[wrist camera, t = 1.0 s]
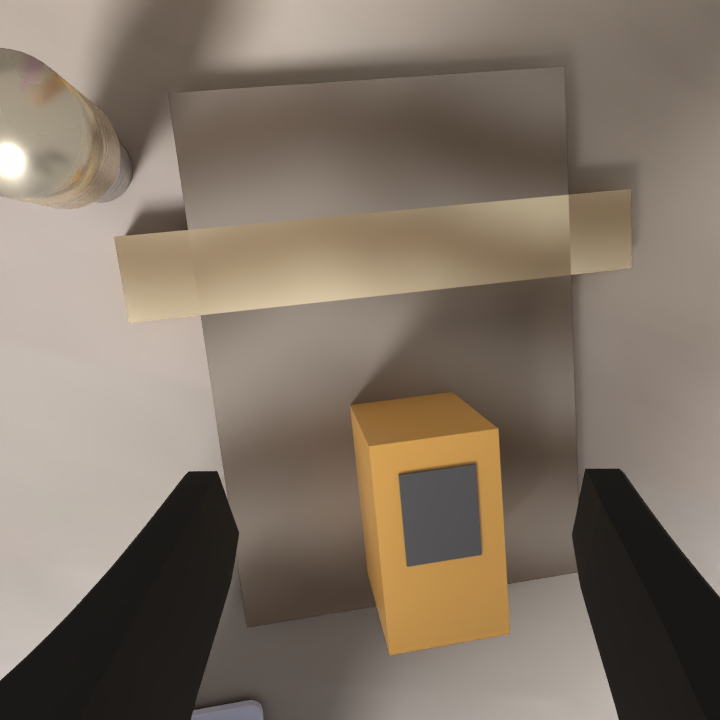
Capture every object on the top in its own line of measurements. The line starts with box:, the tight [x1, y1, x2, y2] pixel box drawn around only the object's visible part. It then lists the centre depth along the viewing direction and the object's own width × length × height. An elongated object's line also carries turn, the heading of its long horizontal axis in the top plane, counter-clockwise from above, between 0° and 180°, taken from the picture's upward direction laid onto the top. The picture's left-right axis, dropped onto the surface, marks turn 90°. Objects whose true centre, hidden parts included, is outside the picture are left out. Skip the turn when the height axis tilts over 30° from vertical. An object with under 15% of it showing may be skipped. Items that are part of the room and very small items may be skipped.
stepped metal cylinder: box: [0, 48, 132, 209], centre depth 18 cm, size 3×3×7 cm
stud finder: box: [350, 392, 510, 655], centre depth 21 cm, size 7×4×5 cm, turn 5°
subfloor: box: [114, 66, 632, 628], centre depth 23 cm, size 20×19×1 cm
